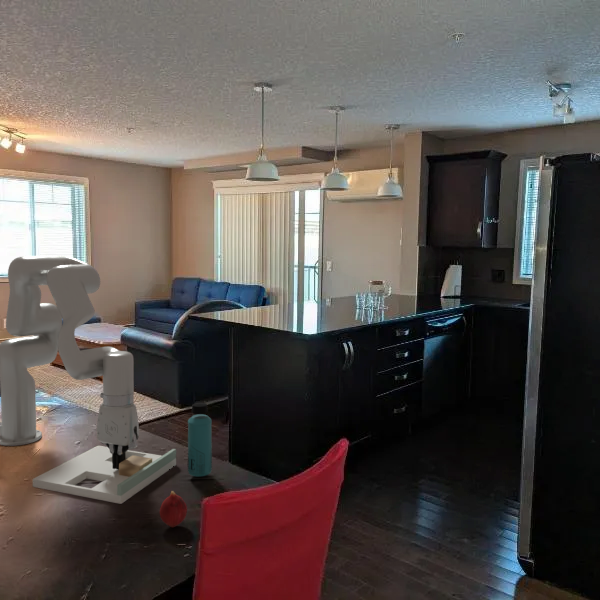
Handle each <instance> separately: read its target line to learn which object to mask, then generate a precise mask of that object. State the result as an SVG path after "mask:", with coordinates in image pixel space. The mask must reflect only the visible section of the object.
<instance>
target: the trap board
mask: <svg viewBox="0 0 600 600" xmlns="http://www.w3.org/2000/svg"><path fill="white" fill-rule="evenodd" d="M125 453H126V459H127V458H129V457H131V456H132V455H133V456H140V457H146V458H152V463H150V464H149V465H147V466H146V467H144V468H143V469H141V470H140V471H138V472H137V473H135V474H133V475H132V476H130V477H128V476H122V475H119V470H118V469H113V464H112V454H111V453H110V449H109V448H108V447H107V446H102V445H97V446H95V447H92V448H90V449H89V450H87V451H84V452H83V453H81V454H78V455H77V456H75V457H73V458H71V459H69V460H67V461H65V462H63V463H61V464H59V465H57V466H56V467H54V468H52V469H50V470H48V471H46V472H44V473H42V474H40V475H38V476H36V477H34V478H32V487H33V488H37V489H38V488H39V489H43V490H48V491H54V492H57V493H62V494H63V493H64V494H68V495H73V496H77V497H78V496H79V497H84V498H89V499H94V500H99V501H104V502H110V503H115V504H124V502H126V501H127V500H129V499H130V498H132V497H133V496H135V495H136V494H138V493H139V492H140V491H141V490H143V489H144V488H146V487H147V486H149V485H150V484H151V483H152V482H154V481H156V480H157V479H158V478H160V477H161V476H162V475H164V474H166V473H167V472H168V471H170V470H171V469H173V468H174V467H176V465H177V449H176V448H171V450H169V451H168V452H166V453H164V454H163V455H161V454H154V453H150V452H149V453H147V452H141V451H135V450H131V449H128V451H126V452H125ZM173 466H174V467H173ZM169 469H170V470H169ZM84 480H93V481H98V482H99V483H98V484H96V485H94V486H93V487H91V488H90V487H87V486H86V487H85V486H82V485H81V486H80V485H78V484H80V483H82V482H83V481H84Z"/></svg>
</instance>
